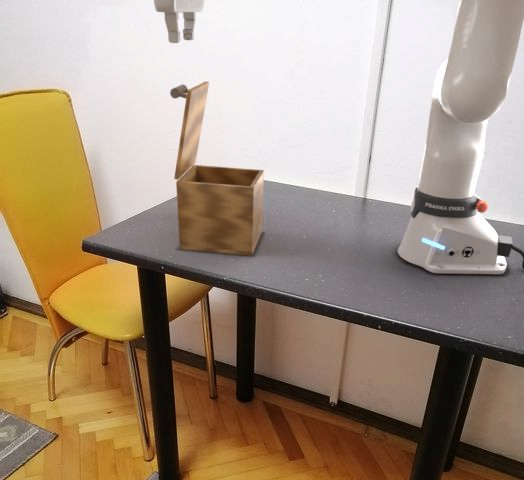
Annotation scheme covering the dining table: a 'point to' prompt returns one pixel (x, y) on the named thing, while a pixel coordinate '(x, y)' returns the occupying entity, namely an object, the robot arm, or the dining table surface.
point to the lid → (190, 124)
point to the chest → (220, 209)
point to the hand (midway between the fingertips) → (181, 41)
